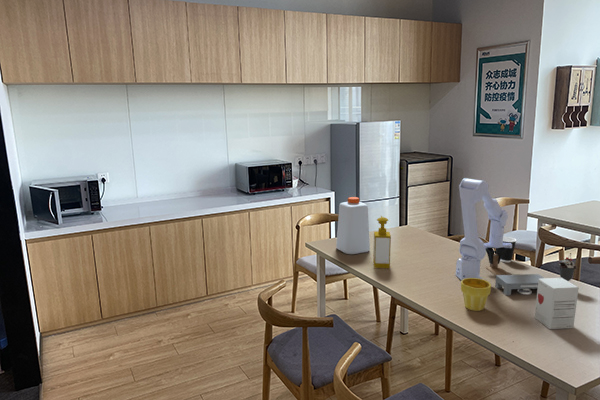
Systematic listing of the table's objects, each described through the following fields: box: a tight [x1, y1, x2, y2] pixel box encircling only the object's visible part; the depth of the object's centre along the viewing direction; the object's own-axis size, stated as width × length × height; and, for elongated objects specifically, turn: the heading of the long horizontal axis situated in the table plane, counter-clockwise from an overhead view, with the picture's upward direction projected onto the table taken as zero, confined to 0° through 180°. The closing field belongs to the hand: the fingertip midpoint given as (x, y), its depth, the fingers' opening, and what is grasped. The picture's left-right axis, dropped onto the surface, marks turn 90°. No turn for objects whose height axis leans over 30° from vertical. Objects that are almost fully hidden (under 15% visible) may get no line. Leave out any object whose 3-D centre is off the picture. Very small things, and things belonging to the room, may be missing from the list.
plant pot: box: [460, 278, 492, 312], centre depth 168 cm, size 10×10×10 cm
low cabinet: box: [494, 273, 545, 296], centre depth 183 cm, size 18×10×5 cm, turn 93°
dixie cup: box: [500, 236, 518, 263], centre depth 218 cm, size 8×8×11 cm
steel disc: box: [517, 289, 532, 296], centre depth 182 cm, size 5×5×1 cm
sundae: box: [557, 252, 578, 282], centre depth 184 cm, size 7×7×15 cm
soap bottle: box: [372, 215, 392, 269], centre depth 215 cm, size 7×13×24 cm, turn 174°
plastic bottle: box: [335, 196, 371, 255], centre depth 235 cm, size 15×15×28 cm
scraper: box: [485, 253, 511, 277], centre depth 198 cm, size 6×22×7 cm, turn 3°
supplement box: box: [534, 277, 579, 330], centre depth 155 cm, size 9×9×15 cm
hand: (494, 263), depth 207 cm, fingers closed on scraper, 2 cm apart
